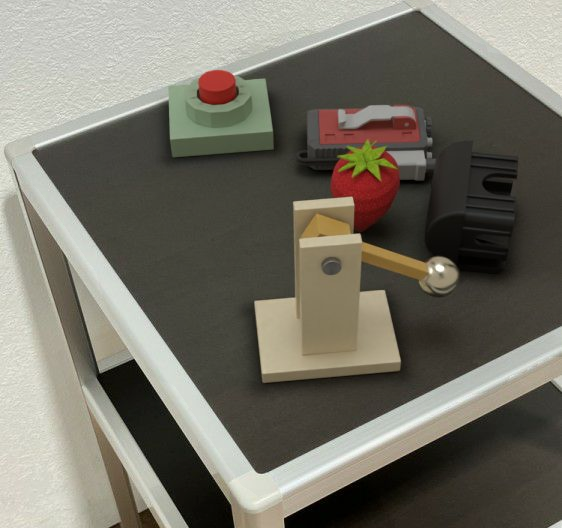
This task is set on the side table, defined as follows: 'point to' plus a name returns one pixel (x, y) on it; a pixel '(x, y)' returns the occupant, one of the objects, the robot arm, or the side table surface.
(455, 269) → the lever
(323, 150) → the walkie-talkie
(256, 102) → the button box
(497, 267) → the end cap
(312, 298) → the bracket
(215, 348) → the side table surface
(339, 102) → the side table surface
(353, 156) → the strawberry
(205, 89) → the button
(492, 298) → the side table surface
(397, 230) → the side table surface
